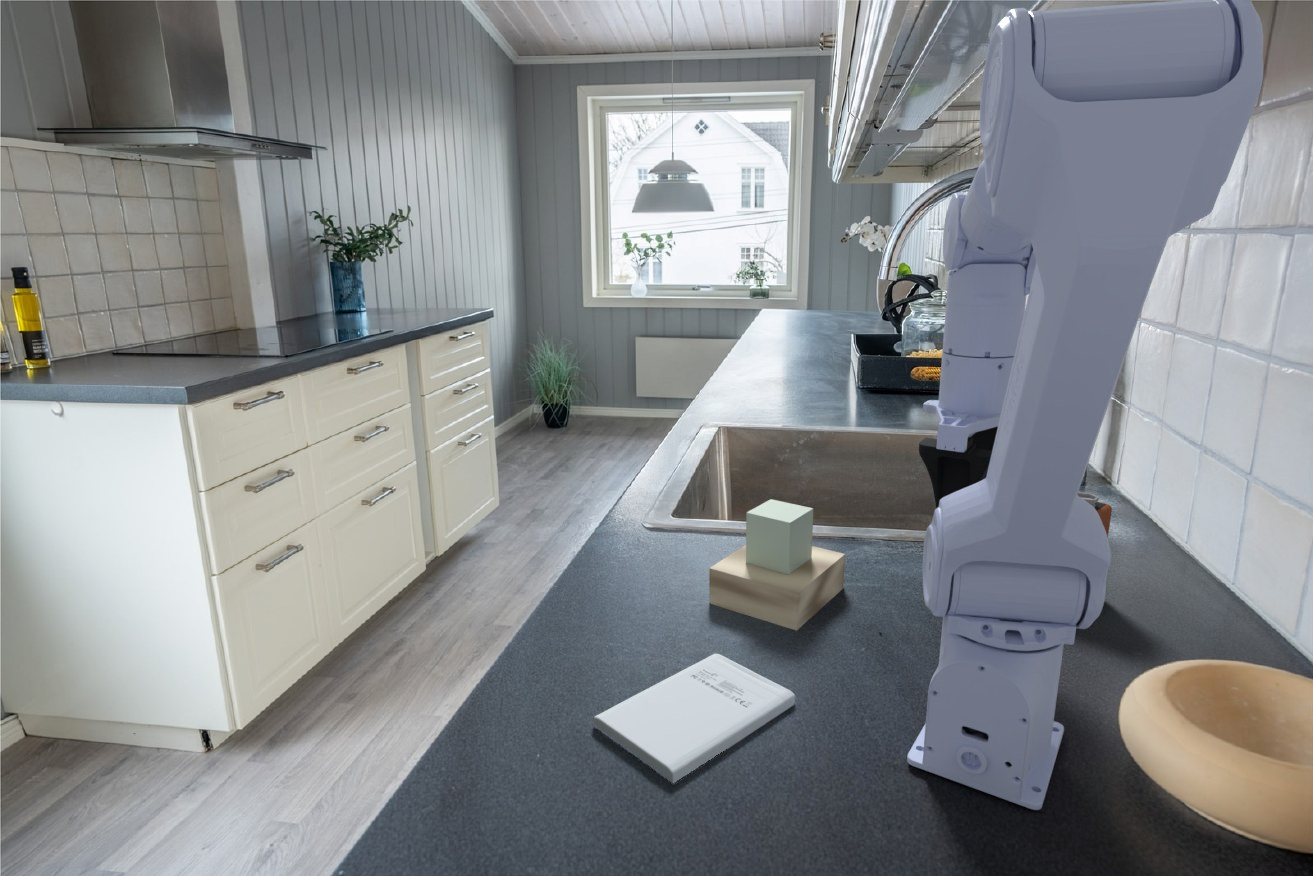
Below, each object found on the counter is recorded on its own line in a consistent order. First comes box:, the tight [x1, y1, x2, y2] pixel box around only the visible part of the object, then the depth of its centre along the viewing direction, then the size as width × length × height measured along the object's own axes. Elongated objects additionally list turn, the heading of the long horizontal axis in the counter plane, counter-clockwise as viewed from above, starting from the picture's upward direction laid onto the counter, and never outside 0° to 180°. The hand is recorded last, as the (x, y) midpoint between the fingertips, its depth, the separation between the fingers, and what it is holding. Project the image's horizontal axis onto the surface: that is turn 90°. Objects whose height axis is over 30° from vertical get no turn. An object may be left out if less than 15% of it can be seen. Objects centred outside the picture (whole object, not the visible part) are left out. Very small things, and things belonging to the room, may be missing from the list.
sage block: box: [745, 498, 814, 575], centre depth 72 cm, size 4×4×5 cm
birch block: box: [708, 544, 846, 632], centre depth 73 cm, size 10×9×4 cm
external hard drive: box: [593, 653, 796, 784], centre depth 56 cm, size 2×8×12 cm
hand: (965, 514), depth 65 cm, fingers open, 7 cm apart
